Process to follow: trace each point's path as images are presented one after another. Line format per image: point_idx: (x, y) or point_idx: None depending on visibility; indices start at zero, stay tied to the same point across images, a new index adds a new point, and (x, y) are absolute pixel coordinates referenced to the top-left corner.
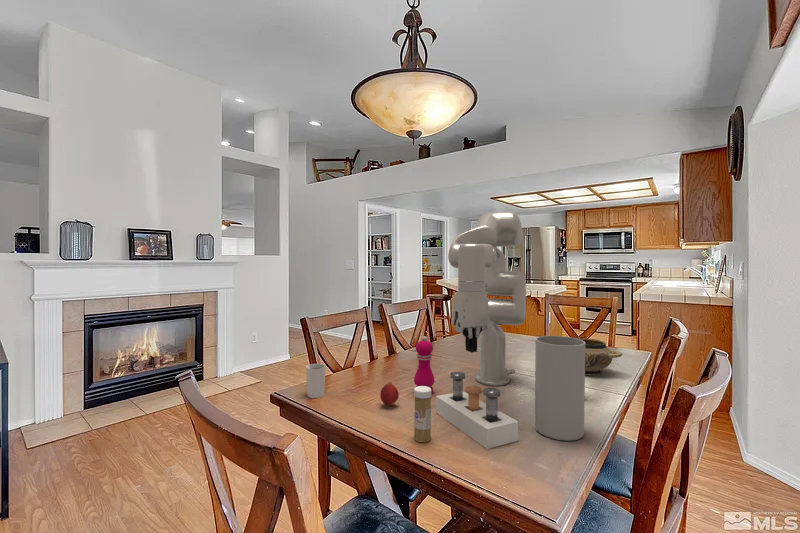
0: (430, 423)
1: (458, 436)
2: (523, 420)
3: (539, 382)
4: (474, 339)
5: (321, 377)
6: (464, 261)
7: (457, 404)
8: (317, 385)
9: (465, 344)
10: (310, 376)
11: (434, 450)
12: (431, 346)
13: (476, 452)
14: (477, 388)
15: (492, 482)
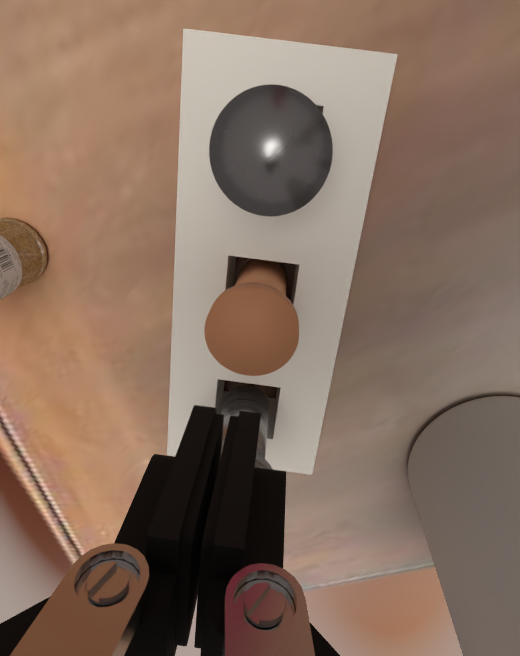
0: (5, 296)
1: (151, 306)
2: (474, 345)
3: (477, 611)
4: (197, 637)
5: None
6: None
7: (217, 217)
8: None
9: (141, 481)
10: None
11: (24, 335)
12: None
13: (140, 409)
14: (267, 348)
15: (89, 512)
